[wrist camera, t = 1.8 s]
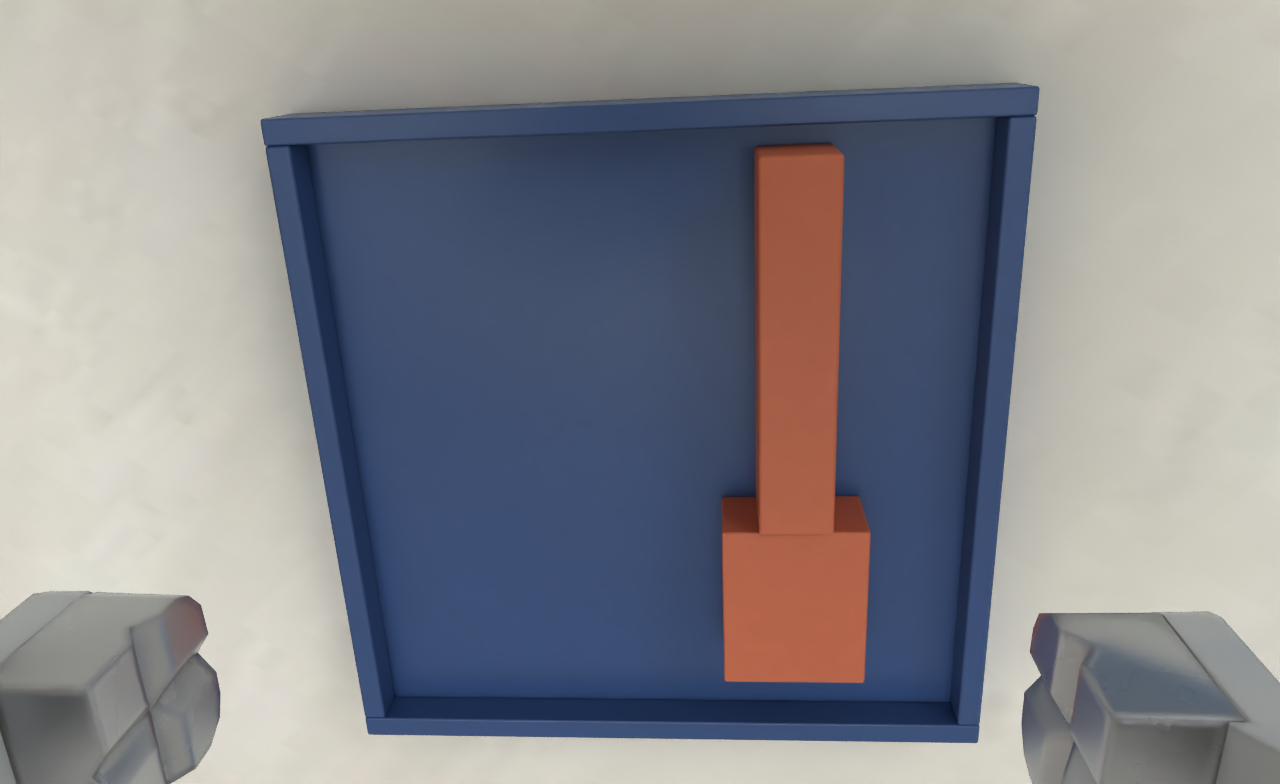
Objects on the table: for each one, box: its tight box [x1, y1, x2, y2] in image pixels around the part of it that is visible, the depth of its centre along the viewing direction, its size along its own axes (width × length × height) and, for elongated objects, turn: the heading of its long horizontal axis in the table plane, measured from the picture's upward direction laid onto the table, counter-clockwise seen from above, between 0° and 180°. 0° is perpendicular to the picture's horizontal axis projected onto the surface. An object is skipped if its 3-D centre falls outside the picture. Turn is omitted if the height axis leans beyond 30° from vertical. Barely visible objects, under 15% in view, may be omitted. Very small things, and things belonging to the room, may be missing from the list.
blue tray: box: [261, 83, 1039, 743], centre depth 25 cm, size 17×17×2 cm
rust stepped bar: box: [721, 143, 871, 683], centre depth 23 cm, size 13×4×2 cm, turn 3°
